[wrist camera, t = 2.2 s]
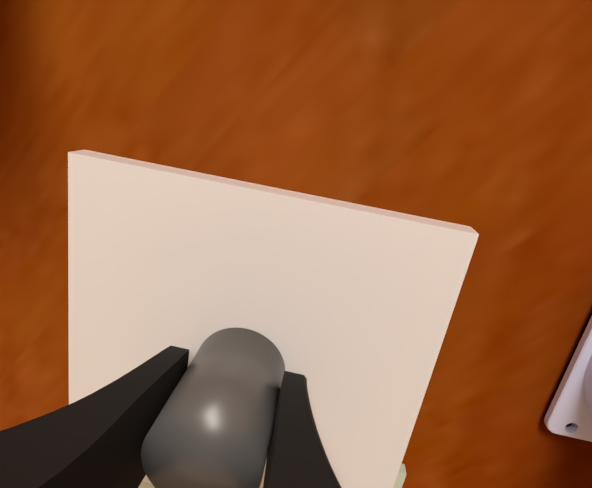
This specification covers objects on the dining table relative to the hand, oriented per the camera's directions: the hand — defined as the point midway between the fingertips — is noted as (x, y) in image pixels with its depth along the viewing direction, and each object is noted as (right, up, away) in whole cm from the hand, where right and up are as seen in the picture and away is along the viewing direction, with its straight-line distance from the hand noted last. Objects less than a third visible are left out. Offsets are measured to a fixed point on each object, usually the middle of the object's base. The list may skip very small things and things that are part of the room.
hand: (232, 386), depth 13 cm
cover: (0, +1, +2) cm, 2 cm away
